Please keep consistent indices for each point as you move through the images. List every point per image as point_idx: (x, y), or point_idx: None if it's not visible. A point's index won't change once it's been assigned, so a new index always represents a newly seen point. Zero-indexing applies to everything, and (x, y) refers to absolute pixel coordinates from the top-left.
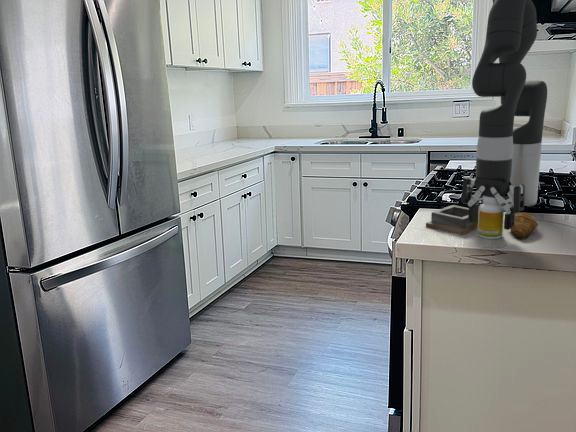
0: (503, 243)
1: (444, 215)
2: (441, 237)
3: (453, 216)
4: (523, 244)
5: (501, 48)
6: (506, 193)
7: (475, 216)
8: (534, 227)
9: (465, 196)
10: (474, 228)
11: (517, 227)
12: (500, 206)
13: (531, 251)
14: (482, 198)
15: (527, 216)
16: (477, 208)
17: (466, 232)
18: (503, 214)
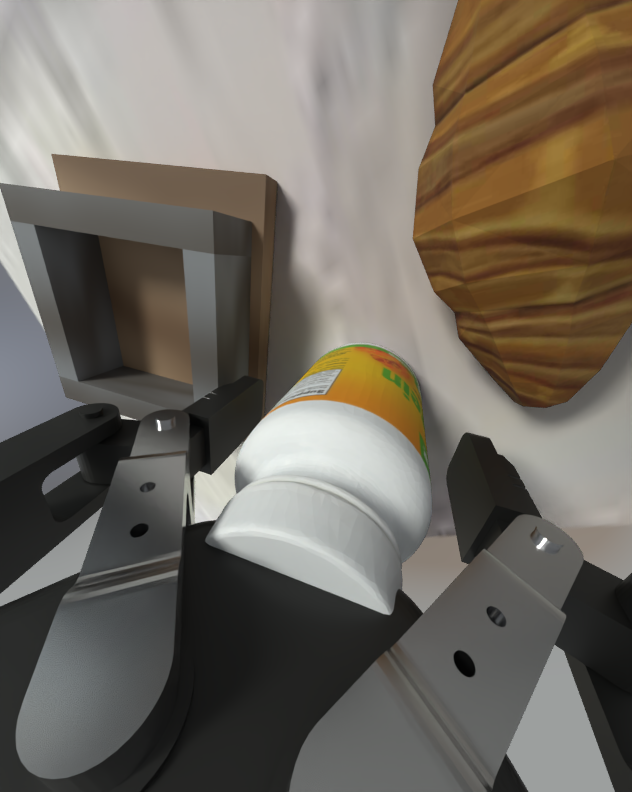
0: (447, 464)
1: (127, 416)
2: (226, 474)
3: None
4: (548, 447)
5: None
6: (503, 785)
7: (248, 412)
8: None
9: (89, 512)
10: (265, 341)
11: (519, 375)
12: (407, 545)
13: (595, 518)
14: (187, 461)
15: None
16: (220, 420)
17: (263, 402)
18: (427, 459)
